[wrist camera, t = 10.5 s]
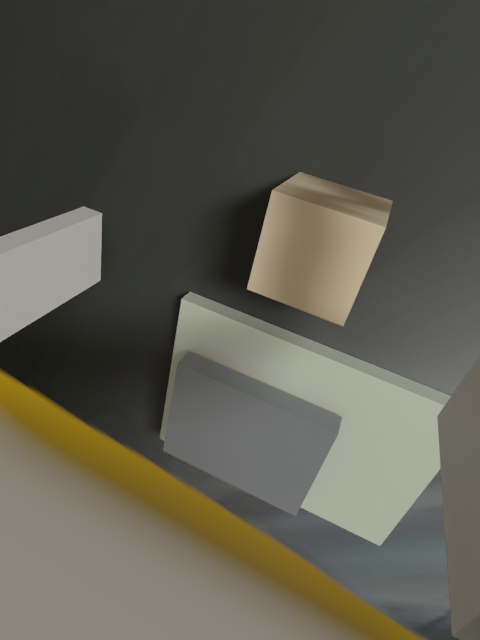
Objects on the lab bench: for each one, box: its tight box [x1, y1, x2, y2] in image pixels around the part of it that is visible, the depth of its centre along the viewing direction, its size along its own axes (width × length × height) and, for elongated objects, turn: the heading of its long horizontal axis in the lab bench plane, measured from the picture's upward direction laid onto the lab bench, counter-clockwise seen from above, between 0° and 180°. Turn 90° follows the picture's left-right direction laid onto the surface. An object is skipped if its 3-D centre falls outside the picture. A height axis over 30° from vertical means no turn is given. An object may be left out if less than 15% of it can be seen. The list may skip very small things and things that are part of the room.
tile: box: [163, 351, 342, 516], centre depth 29 cm, size 2×9×11 cm
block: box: [247, 172, 393, 326], centre depth 20 cm, size 5×5×5 cm
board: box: [160, 292, 451, 546], centre depth 29 cm, size 19×14×1 cm
